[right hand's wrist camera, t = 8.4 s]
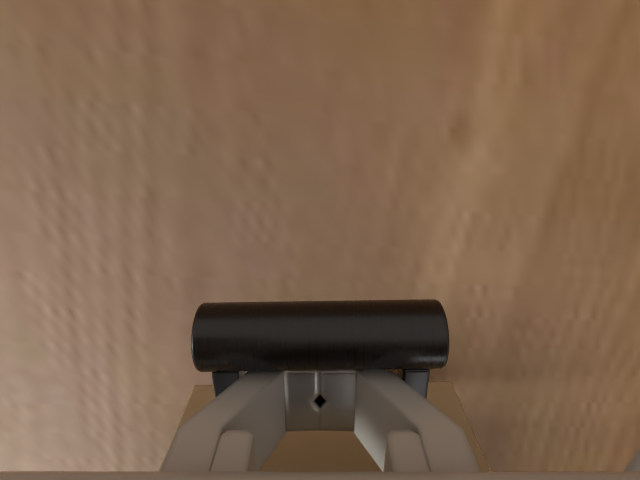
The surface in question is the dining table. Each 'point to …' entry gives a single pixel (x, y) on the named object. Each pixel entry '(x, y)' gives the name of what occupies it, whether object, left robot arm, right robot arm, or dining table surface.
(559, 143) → the dining table surface
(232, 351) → the drawer
